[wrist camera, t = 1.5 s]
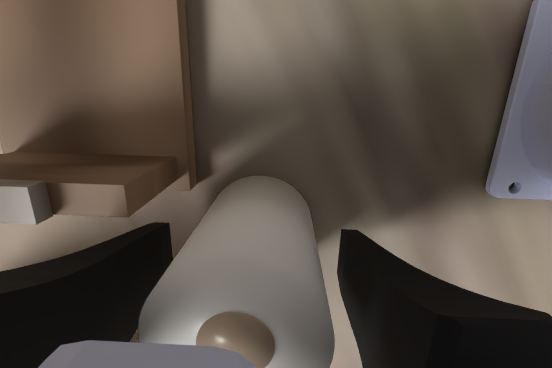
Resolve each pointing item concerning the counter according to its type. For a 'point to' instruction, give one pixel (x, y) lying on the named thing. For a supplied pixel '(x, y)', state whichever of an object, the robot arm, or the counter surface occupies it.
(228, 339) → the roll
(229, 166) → the counter surface
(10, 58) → the holder
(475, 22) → the counter surface
